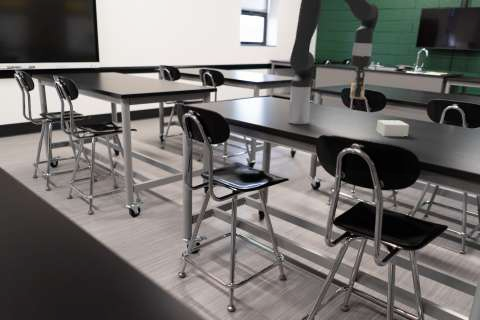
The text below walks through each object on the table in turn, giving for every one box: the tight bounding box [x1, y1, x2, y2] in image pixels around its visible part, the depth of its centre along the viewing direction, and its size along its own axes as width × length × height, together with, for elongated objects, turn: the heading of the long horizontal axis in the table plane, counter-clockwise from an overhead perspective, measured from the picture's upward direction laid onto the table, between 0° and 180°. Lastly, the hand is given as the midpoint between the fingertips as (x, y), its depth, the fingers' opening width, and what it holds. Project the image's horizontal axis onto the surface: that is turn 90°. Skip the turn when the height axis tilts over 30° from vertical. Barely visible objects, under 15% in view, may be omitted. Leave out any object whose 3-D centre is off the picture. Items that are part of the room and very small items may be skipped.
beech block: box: [349, 82, 366, 100], centre depth 170 cm, size 5×5×6 cm
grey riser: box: [375, 119, 410, 138], centre depth 172 cm, size 10×10×5 cm
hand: (356, 95), depth 170 cm, fingers closed on beech block, 5 cm apart
